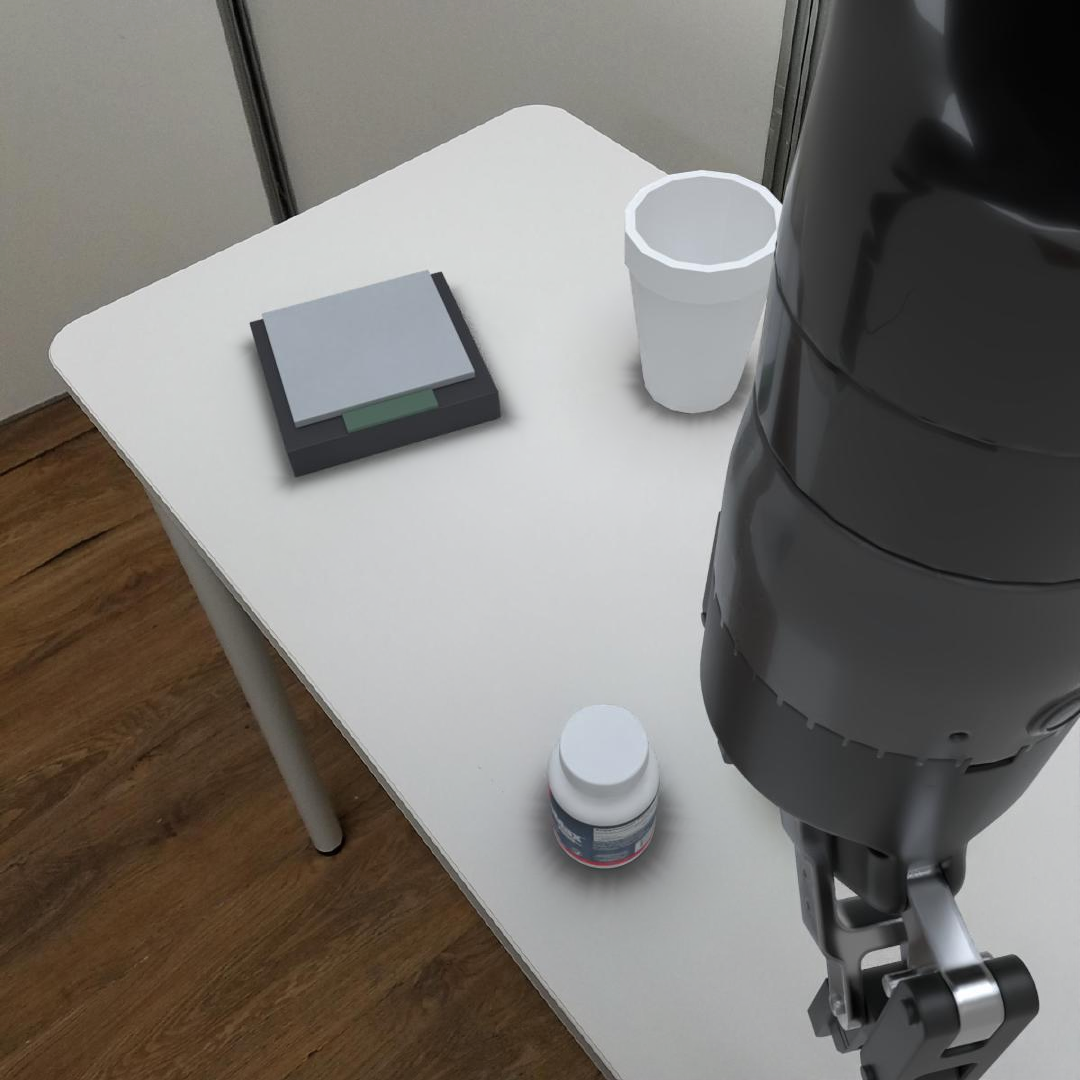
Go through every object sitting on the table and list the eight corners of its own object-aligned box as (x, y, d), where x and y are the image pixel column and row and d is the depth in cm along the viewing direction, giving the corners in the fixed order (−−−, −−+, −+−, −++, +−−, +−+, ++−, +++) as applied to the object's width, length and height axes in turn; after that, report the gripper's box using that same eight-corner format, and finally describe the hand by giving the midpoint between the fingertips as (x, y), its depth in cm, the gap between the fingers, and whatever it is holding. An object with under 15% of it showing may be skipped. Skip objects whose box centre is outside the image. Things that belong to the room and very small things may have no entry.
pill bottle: (538, 790, 57) (528, 708, 50) (632, 759, 58) (636, 674, 51) (571, 885, 54) (566, 813, 47) (671, 852, 55) (680, 775, 48)
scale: (295, 477, 71) (284, 446, 68) (257, 347, 78) (246, 315, 76) (501, 417, 73) (498, 385, 71) (445, 296, 81) (440, 263, 78)
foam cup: (606, 416, 73) (606, 258, 62) (636, 323, 78) (642, 162, 67) (750, 441, 71) (775, 282, 60) (771, 343, 76) (798, 181, 66)
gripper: (628, 352, 25) (619, 700, 38) (868, 1000, 16) (751, 1162, 29) (943, 295, 25) (828, 656, 38) (1331, 891, 17) (1016, 1097, 30)
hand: (795, 875), depth 34 cm, fingers open, 8 cm apart
